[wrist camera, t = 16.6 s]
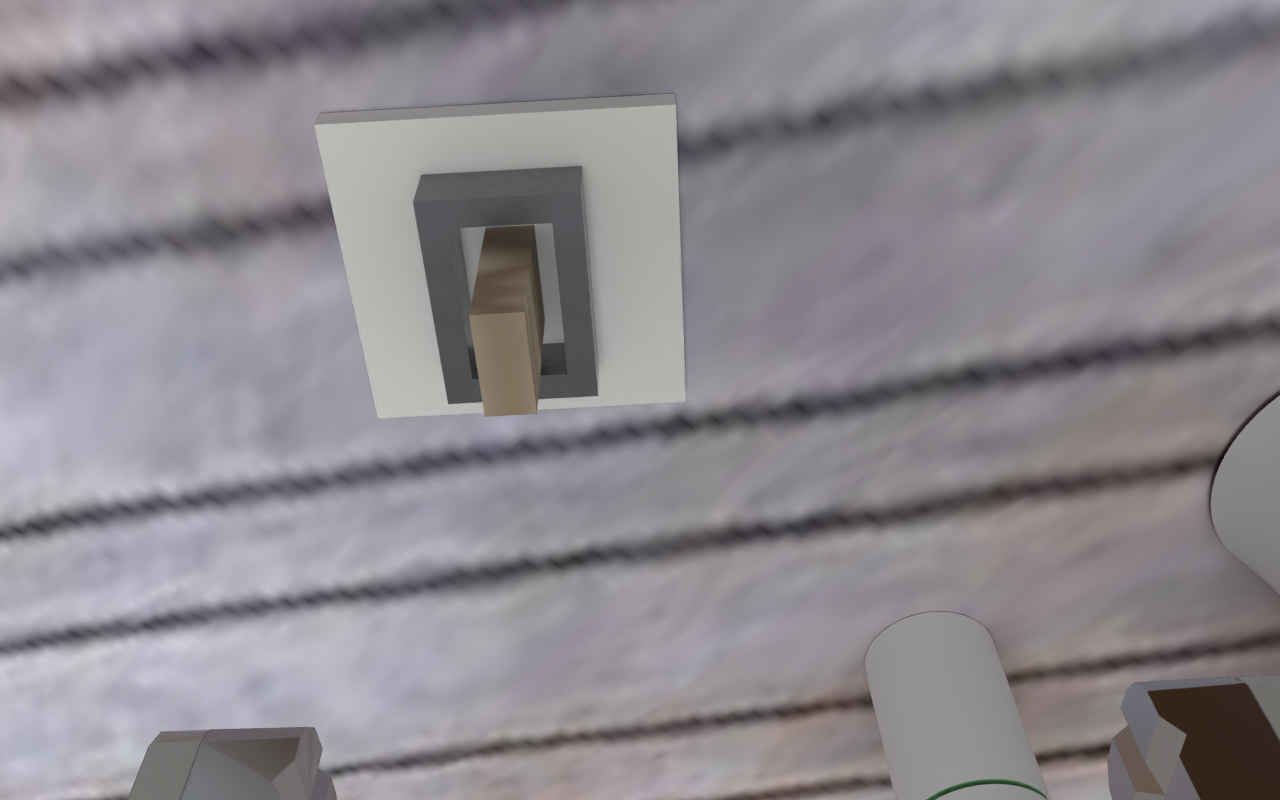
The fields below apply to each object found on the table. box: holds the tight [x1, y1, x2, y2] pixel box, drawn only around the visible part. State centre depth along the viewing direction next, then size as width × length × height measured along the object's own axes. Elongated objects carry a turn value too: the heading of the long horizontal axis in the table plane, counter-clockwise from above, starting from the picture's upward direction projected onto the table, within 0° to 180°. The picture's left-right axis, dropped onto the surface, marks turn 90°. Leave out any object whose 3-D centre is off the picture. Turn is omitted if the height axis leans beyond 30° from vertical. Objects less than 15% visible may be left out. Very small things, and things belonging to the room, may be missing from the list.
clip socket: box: [413, 166, 599, 404], centre depth 48 cm, size 6×9×2 cm
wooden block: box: [469, 225, 545, 416], centre depth 47 cm, size 2×4×7 cm, turn 3°
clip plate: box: [314, 93, 686, 418], centre depth 50 cm, size 14×14×1 cm
